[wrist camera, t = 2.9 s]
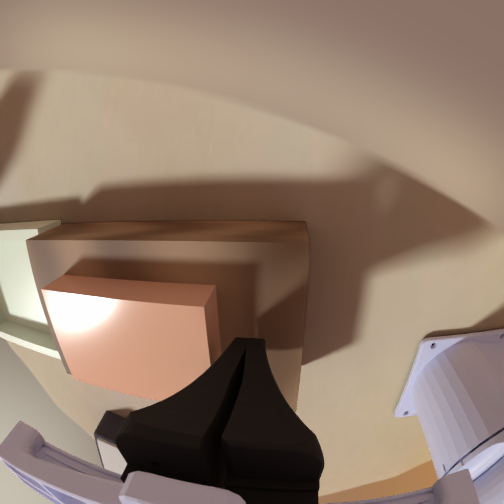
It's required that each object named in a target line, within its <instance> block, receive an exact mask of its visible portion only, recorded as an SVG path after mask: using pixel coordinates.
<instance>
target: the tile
mask: <svg viewBox="0 0 504 504" xmlns="http://www.w3.org/2000/svg"><path fill="white" fill-rule="evenodd" d="M41 290H42V294H43V297H44V300H45V304H46V307H47V310H48V313H49V316H50V320H51V323H52V325H53V328H54V331H55V334H56V337H57V339H58V342H59V345H60V347H61V350H62V352H63V355H64V357H65V360H66V362H67V365H68V367H69V369H70V372H71V374H72V376H73V378H74V379H76V380H79V381H82V382H85V383H89V384H92V385H95V386H99V387H102V388H106V389H110V390H113V391H117V392H121V393H125V394H129V395H133V396H138V397H142V398H147V399H151V400H156V401H162V400H164V399H166V398H168V397H170V396H172V395H174V394H175V393H177V392H179V391H180V390H182V389H183V388H185V387H186V386H188V385H189V384H190V383H192V382H193V381H194V380H196V379H197V378H198V377H199V376H200V375H202V374H203V373H204V372H205V371H206V370H207V369H208V368H209V367H210V366H211V365H212V364H213V363H214V362H215V361H216V360H217V359H218V358H219V357H220V356H221V344H220V333H219V321H218V309H217V296H216V285H202V284H183V283H166V282H150V281H135V280H122V279H109V278H96V277H84V276H73V275H62V276H60V277H59V278H57V279H56V280H54V281H53V282H51V283H50V284H48V285H47V286H45V287H44V288H42V289H41Z"/></svg>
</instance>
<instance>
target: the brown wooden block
mask: <svg viewBox="0 0 504 504" xmlns="http://www.w3.org/2000/svg"><path fill="white" fill-rule="evenodd" d="M25 241H26V246H27V251H28V255H29V260H30V264H31V268H32V273H33V276H34V280H35V284H36V288H37V291H38V295H39V298H40V302H41V305H42V308H43V311H44V314H45V317H46V320H47V323H48V326H49V329H50V332H51V334H52V337H53V340H54V342H55V345H56V348H57V350H58V353H59V355H60V358H61V360H62V362H63V365H64V367H65V369H66V372H67V373H68V374H71V372H70V369H69V367H68V365H67V362H66V360H65V357H64V355H63V352H62V350H61V347H60V345H59V342H58V339H57V337H56V334H55V331H54V328H53V325H52V323H51V320H50V316H49V313H48V310H47V307H46V304H45V300H44V297H43V294H42V290H41V289H42V288H44V287H45V286H47V285H48V284H50V283H51V282H53V281H54V280H56V279H57V278H59V277H60V276H62V275H73V276H84V277H96V278H109V279H122V280H135V281H150V282H166V283H183V284H202V285H216V296H217V309H218V321H219V333H220V344H221V354H222V353H223V352H224V351H225V350H226V349H227V347H228V346H229V345H230V343H231V342H232V341H233V339H234V338H236V337H242V338H260V339H264V340H265V341H266V354H267V358H268V362H269V365H270V368H271V371H272V374H273V376H274V378H275V381H276V383H277V385H278V387H279V389H280V391H281V393H282V394H283V396H284V398H285V399H286V401H287V403H288V404H289V405H290V407H291V408H292V409H293V411H294V412H296V407H297V399H298V390H299V382H300V372H301V363H302V353H303V342H304V330H305V318H306V305H307V290H308V274H309V255H310V241H309V237H308V232H307V228H306V224H305V221H244V220H187V221H125V222H92V223H66V224H62V225H60V226H57V227H55V228H52V229H50V230H48V231H45V232H43V233H41V234H38V235H36V236H34V237H32V238H29V239H27V240H25ZM71 375H72V374H71Z"/></svg>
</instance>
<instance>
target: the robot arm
mask: <svg viewBox="0 0 504 504" xmlns="http://www.w3.org/2000/svg"><path fill="white" fill-rule="evenodd" d="M433 343H434V344H433ZM432 344H433V345H432ZM394 414H395V416H396V417H406V416H413V415H417V416H418V419H419V421H420V424H421V427H422V430H423V433H424V436H425V439H426V442H427V445H428V448H429V451H430V454H431V457H432V460H433V464H434V467H435V470H436V473H437V477H438V480H437V481H436V482H435V484H434V485H433V486H432V487H429V488H425V489H421V490H417V491H413V492H408V493H404V494H399V495H393V496H388V497H382V498H376V499H370V500H361V501H353V502H342V503H328V504H504V329H498V330H491V331H484V332H476V333H468V334H460V335H450V336H440V337H429V338H425V339H424V340H422V342H421V343H420V346H419V349H418V352H417V355H416V358H415V361H414V364H413V367H412V369H411V372H410V375H409V378H408V380H407V383H406V385H405V388H404V390H403V393H402V395H401V398H400V400H399V403H398V405H397V407H396V410H395V412H394ZM115 444H116V446H117V448H118V450H119V451H120V453H121V455H122V456H123V458H124V460H125V461H126V463H127V465H126V467H125V470H124V472H123V474H122V475H121V474H118V473H115V472H112V471H109V470H107V469H104V468H101V467H99V466H97V465H94V464H92V463H89V462H87V461H85V460H82V459H80V458H78V457H76V456H73V455H71V454H69V453H67V452H65V451H63V450H61V449H58V448H57V447H55V446H53V445H51V444H49V443H47V442H45V440H44V438H43V437H42V435H41V434H40V433H39V432H38V431H37V430H36V429H34V428H32V427H31V426H29V425H27V424H25V423H24V422H22V421H19V422H18V423H17V425H16V426H15V427H14V428H13V430H12V431H11V432H10V433H9V435H8V436H7V437H6V438H5V440H4V441H3V442H2V444H1V445H0V459H1V460H2V462H3V463H4V464H5V465H6V466H7V467H8V468H9V469H10V470H11V471H12V472H13V473H14V474H15V475H16V476H17V477H18V478H19V479H20V480H21V481H22V482H23V483H25V484H26V485H28V486H29V487H30V488H32V489H33V490H35V491H36V492H38V493H39V494H41V495H43V496H44V497H46V498H47V499H49V500H50V501H52V502H53V503H55V504H318V491H319V479H320V477H321V474H322V471H323V469H324V457H323V453H322V450H321V447H320V444H319V442H318V439H317V437H316V435H315V434H314V433H313V432H312V431H311V430H310V429H309V428H308V427H307V426H306V425H305V424H304V423H303V422H302V421H301V420H300V418H299V417H298V416H297V415H296V414H295V412H294V411H293V409H292V408H291V407H290V405H289V404H288V403H287V401H286V399H285V398H284V396H283V394H282V393H281V391H280V389H279V387H278V385H277V383H276V381H275V378H274V376H273V374H272V371H271V368H270V365H269V362H268V358H267V354H266V341H265V340H264V339H260V338H242V337H236V338H234V339H233V341H232V342H231V343H230V345H229V346H228V347H227V349H226V350H225V351H224V352H223V353H222V354H221V356H220V357H219V358H218V359H217V360H216V361H215V362H214V363H213V364H212V365H211V366H210V367H209V368H208V369H207V370H206V371H205V372H204V373H203V374H202V375H200V376H199V377H198V378H197V379H196V380H194V381H193V382H192V383H190V384H189V385H188V386H186V387H185V388H183V389H182V390H180V391H179V392H177V393H175V394H174V395H172V396H170V397H168V398H166V399H164V400H162V401H160V402H158V403H155V404H153V405H151V406H148V407H145V408H142V409H139V410H136V411H133V412H131V413H130V414H129V415H128V417H127V418H126V419H125V421H124V423H123V424H122V426H121V428H120V429H119V431H118V433H117V435H116V437H115Z"/></svg>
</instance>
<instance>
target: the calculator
mask: <svg viewBox="0 0 504 504" xmlns="http://www.w3.org/2000/svg"><path fill="white" fill-rule="evenodd" d="M124 421H125V418H123V417H121V416H119V415H116V414H114V413H112V412H110V411H106V412H105V414H104V416H103V418H102V419H101V421H100V423H99V425H98V427H97V429H96V430H95V432H94V436H95V440H96V444H97V448H98V451H99V455H100V459H101V462H102V466H103V468H104V469H107V470H109V471H112V472H115V473H118V474H121V475H122V474H123V472H124V470H125V467H126V465H127V463H126V461H125V460H124V458H123V456H122V455H121V453H120V451H119V450H118V448H117V446H116V444H115V437H116V435H117V433H118V431H119V429H120V428H121V426H122V424H123V423H124Z"/></svg>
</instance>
